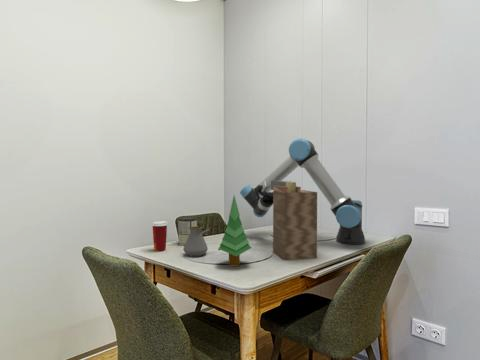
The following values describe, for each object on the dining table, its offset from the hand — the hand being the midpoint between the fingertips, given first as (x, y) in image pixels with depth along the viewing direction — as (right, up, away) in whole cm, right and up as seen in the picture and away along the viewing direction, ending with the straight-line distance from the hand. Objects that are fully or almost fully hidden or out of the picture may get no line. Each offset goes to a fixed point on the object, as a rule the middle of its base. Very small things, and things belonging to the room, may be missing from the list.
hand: (278, 183), depth 166 cm
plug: (+1, -4, -5) cm, 6 cm away
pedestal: (+7, -34, -7) cm, 35 cm away
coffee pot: (-36, -34, -4) cm, 49 cm away
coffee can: (-47, -33, +17) cm, 60 cm away
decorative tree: (-21, -34, -23) cm, 47 cm away
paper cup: (-59, -34, +2) cm, 68 cm away
